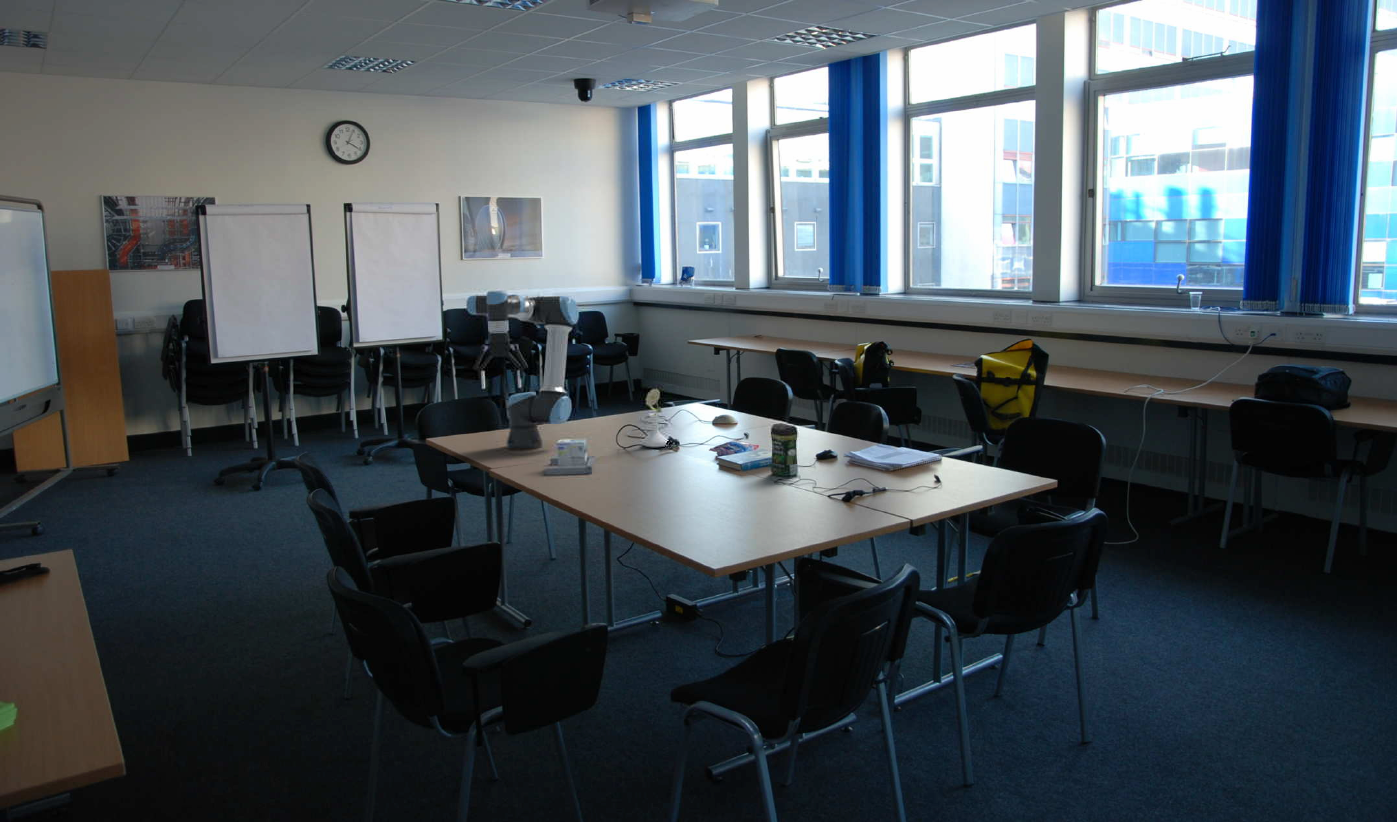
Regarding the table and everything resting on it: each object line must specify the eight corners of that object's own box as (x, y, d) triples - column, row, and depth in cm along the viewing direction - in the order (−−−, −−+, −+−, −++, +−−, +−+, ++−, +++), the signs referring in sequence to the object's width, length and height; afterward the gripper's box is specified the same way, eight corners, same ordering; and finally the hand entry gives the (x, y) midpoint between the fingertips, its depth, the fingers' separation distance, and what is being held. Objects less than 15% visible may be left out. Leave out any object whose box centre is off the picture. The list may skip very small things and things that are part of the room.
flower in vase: (639, 445, 412) (637, 386, 408) (665, 443, 415) (663, 385, 411) (646, 450, 400) (644, 390, 396) (673, 448, 403) (671, 389, 399)
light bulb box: (587, 465, 373) (586, 438, 371) (585, 469, 366) (584, 441, 365) (560, 466, 373) (558, 438, 371) (557, 470, 367) (556, 442, 365)
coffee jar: (767, 474, 352) (766, 423, 349) (784, 470, 356) (783, 421, 353) (784, 478, 344) (784, 427, 341) (801, 475, 348) (801, 424, 346)
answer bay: (551, 463, 378) (550, 457, 378) (594, 462, 379) (594, 456, 378) (545, 475, 358) (545, 468, 358) (591, 473, 359) (591, 467, 359)
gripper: (463, 333, 362) (466, 390, 365) (530, 332, 363) (533, 388, 366) (467, 332, 369) (470, 387, 373) (533, 330, 370) (535, 385, 374)
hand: (501, 388), depth 369 cm, fingers open, 13 cm apart
